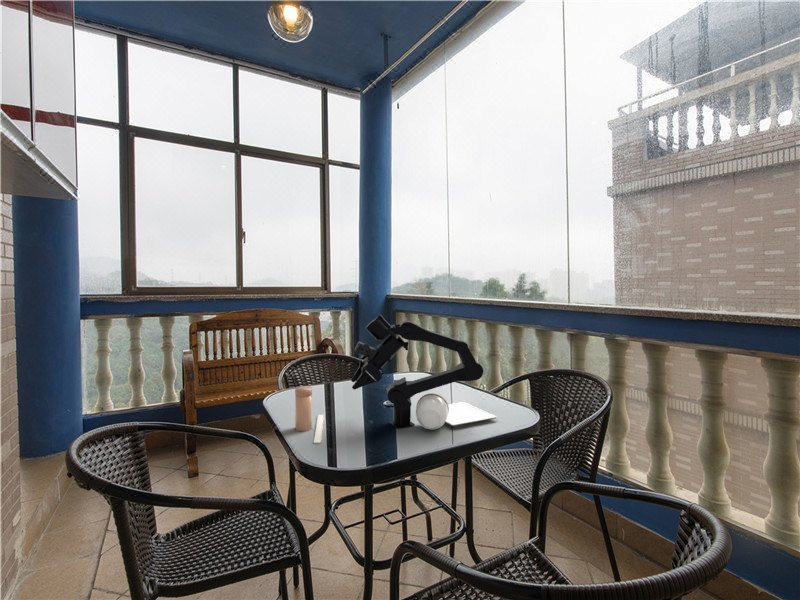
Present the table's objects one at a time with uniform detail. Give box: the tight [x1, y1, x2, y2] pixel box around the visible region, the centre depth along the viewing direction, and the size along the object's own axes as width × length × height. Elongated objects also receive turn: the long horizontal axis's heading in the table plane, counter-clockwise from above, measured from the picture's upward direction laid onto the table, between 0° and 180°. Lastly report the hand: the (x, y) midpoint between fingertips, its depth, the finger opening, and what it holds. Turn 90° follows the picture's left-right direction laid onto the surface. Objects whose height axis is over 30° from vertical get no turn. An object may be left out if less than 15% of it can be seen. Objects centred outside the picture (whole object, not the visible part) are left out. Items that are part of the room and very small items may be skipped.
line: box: [313, 414, 325, 445], centre depth 126 cm, size 24×2×1 cm, turn 9°
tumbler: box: [294, 385, 313, 433], centre depth 126 cm, size 5×5×13 cm
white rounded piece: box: [415, 393, 449, 431], centre depth 127 cm, size 11×11×9 cm
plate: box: [445, 401, 498, 427], centre depth 139 cm, size 19×19×2 cm
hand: (352, 384), depth 128 cm, fingers open, 9 cm apart
